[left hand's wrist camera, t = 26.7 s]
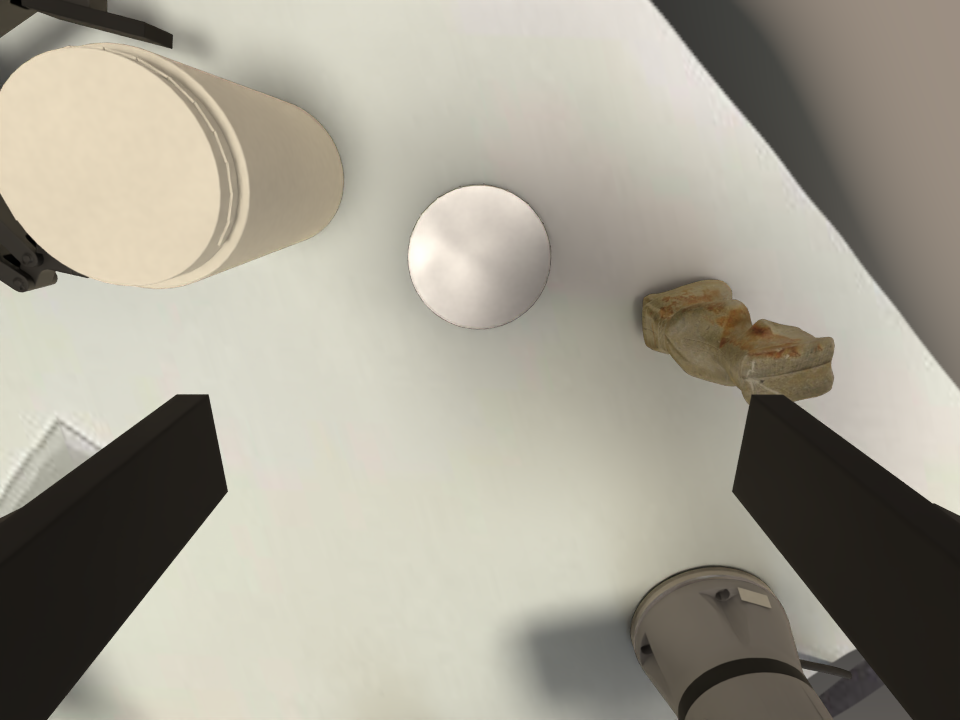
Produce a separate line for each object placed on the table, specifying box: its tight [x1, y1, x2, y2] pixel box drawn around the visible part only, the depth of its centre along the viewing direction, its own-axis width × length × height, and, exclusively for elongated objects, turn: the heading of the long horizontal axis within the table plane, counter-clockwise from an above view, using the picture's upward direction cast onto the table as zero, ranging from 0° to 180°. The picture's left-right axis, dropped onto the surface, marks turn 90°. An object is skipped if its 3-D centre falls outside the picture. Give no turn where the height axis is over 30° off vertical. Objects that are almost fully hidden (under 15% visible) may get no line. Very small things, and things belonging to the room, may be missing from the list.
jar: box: [0, 43, 344, 289], centre depth 29 cm, size 10×10×18 cm
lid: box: [408, 184, 551, 329], centre depth 39 cm, size 11×11×2 cm
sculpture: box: [642, 280, 835, 404], centre depth 34 cm, size 6×7×15 cm
